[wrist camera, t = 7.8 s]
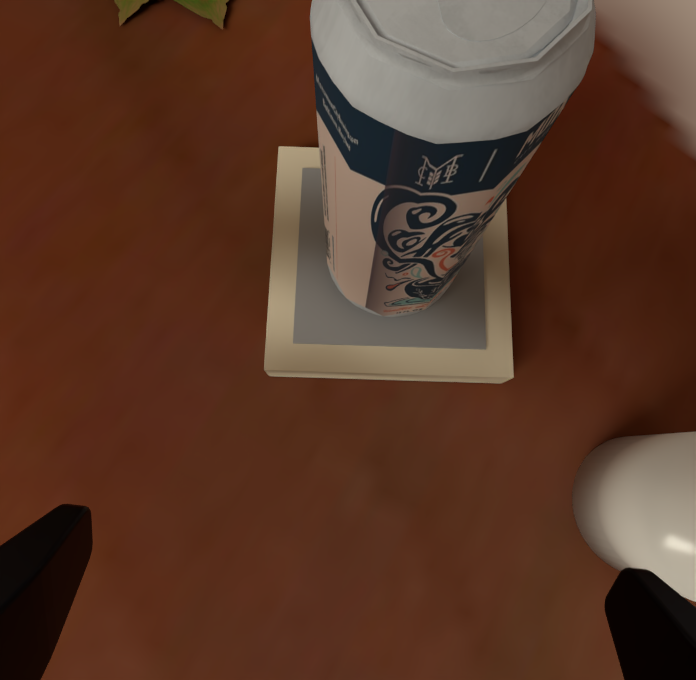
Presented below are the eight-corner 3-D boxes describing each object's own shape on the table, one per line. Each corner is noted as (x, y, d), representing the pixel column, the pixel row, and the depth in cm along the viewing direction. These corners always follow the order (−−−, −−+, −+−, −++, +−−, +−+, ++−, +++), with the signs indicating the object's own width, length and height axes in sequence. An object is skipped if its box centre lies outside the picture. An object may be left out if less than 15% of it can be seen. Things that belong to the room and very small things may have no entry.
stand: (500, 383, 20) (514, 376, 18) (269, 376, 20) (263, 369, 18) (493, 174, 22) (505, 151, 20) (282, 167, 22) (278, 144, 20)
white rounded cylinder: (732, 503, 19) (865, 519, 14) (651, 607, 18) (763, 662, 14) (627, 409, 20) (719, 393, 15) (544, 505, 19) (614, 521, 14)
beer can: (392, 347, 19) (481, 164, 7) (300, 259, 19) (238, -42, 8) (480, 258, 19) (692, -40, 8) (388, 177, 20) (455, -211, 8)
